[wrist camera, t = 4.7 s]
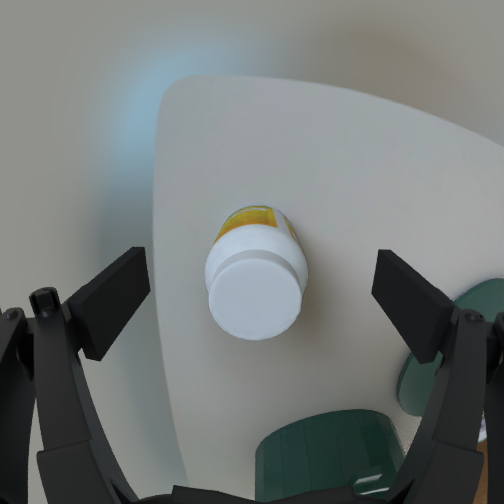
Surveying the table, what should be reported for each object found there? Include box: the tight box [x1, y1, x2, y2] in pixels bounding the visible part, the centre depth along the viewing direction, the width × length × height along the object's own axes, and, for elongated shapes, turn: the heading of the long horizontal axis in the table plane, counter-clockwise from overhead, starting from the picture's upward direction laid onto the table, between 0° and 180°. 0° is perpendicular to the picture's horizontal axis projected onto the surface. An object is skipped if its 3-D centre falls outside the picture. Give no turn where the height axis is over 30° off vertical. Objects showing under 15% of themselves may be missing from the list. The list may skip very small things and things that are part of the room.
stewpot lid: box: [397, 278, 504, 417], centre depth 20 cm, size 21×21×10 cm
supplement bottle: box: [205, 205, 308, 340], centre depth 16 cm, size 5×5×10 cm
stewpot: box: [255, 410, 406, 502], centre depth 25 cm, size 20×25×12 cm
